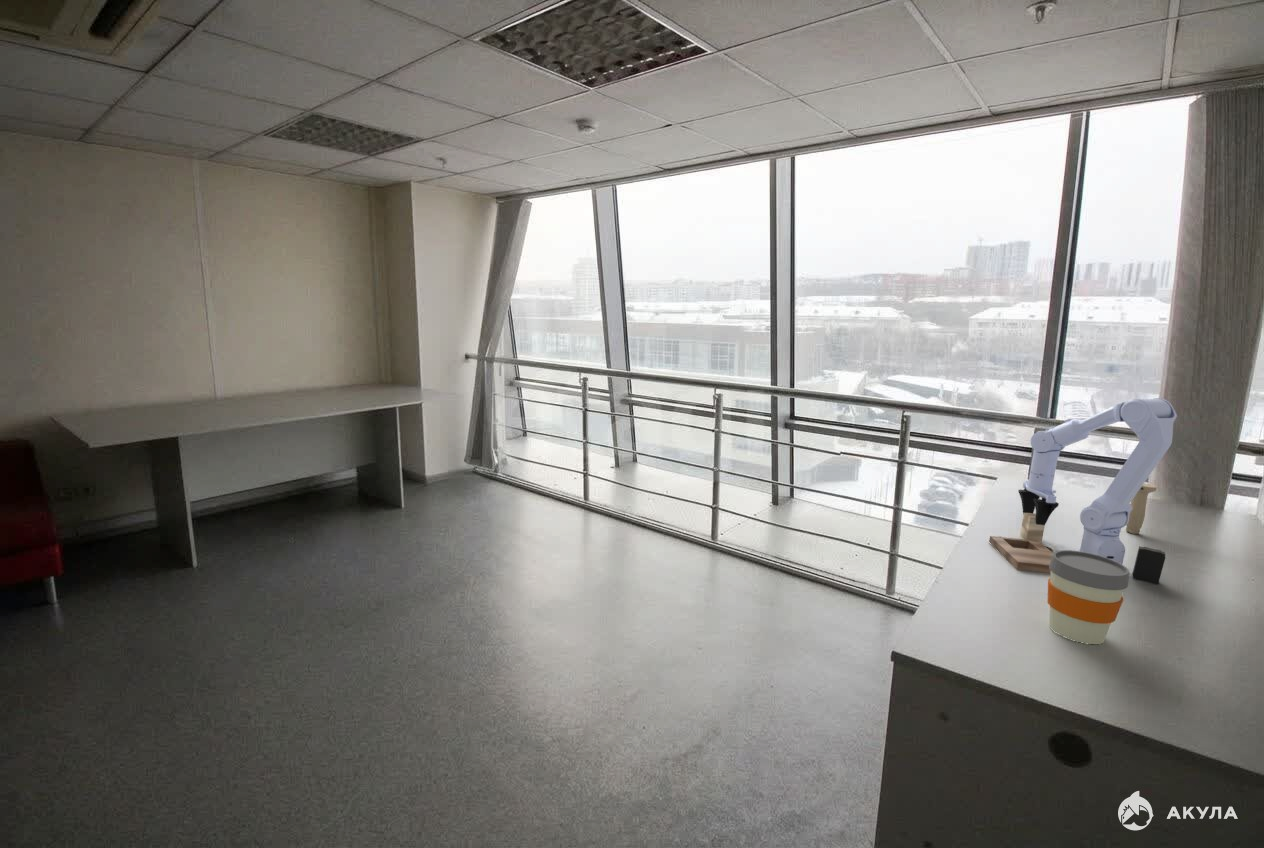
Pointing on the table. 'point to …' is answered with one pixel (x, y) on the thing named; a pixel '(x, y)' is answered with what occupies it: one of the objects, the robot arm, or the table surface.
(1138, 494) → the handle
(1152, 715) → the table surface
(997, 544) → the slotted walnut block
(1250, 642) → the table surface
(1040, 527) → the maple peg
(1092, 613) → the reusable coffee cup
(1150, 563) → the ink cartridge
